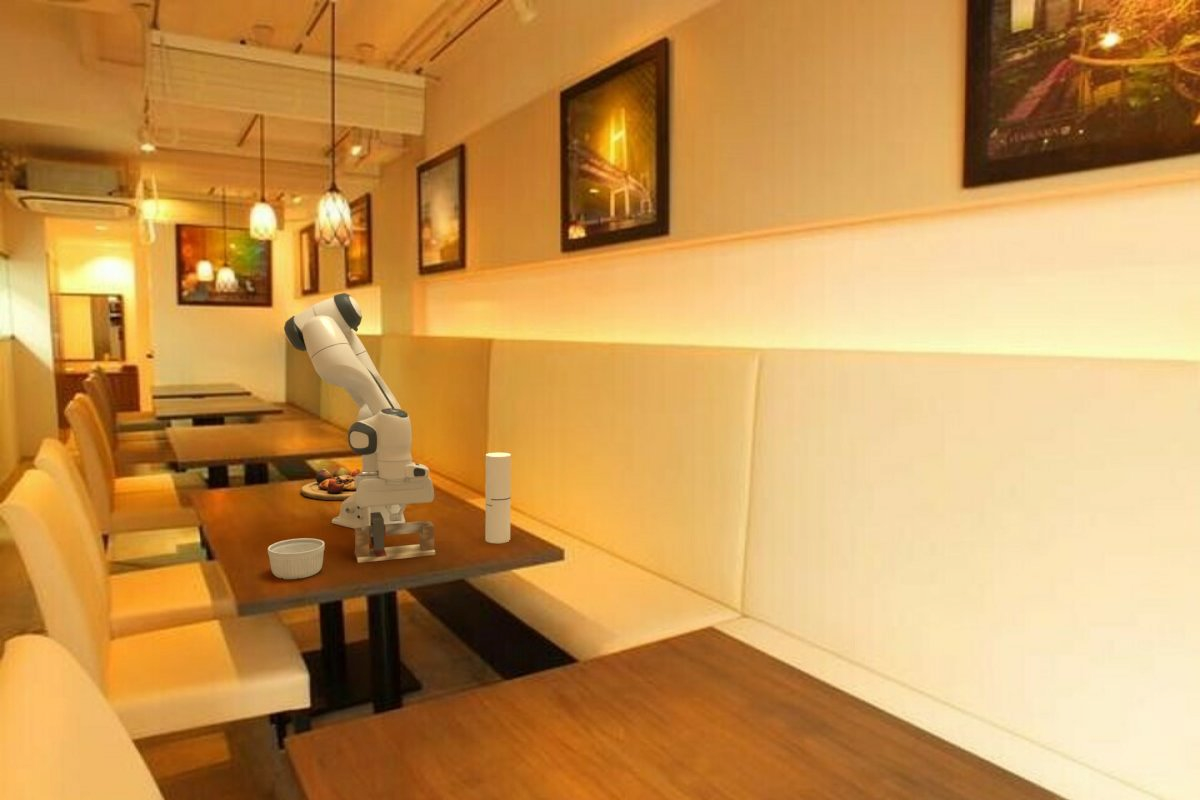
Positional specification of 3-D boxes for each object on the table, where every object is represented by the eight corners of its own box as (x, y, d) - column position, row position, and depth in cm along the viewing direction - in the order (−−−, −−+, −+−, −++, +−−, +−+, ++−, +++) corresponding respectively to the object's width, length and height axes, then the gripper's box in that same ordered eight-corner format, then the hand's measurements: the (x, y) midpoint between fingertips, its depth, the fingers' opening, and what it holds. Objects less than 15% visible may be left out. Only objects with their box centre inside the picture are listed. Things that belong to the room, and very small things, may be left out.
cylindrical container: (505, 544, 217) (506, 457, 214) (481, 542, 218) (482, 456, 216) (513, 537, 224) (514, 453, 221) (490, 535, 225) (490, 451, 223)
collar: (374, 550, 199) (373, 520, 199) (370, 541, 207) (370, 512, 206) (384, 549, 200) (383, 519, 200) (380, 540, 208) (379, 512, 207)
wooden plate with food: (360, 505, 260) (360, 481, 259) (281, 496, 268) (281, 473, 268) (409, 488, 290) (409, 466, 289) (336, 481, 299) (337, 460, 298)
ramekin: (256, 576, 186) (255, 549, 186) (295, 561, 199) (294, 535, 198) (299, 584, 182) (298, 556, 181) (336, 568, 194) (336, 541, 193)
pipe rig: (357, 562, 198) (357, 531, 197) (354, 554, 205) (354, 523, 205) (435, 554, 206) (435, 524, 205) (429, 546, 213) (429, 517, 212)
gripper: (355, 474, 197) (356, 526, 198) (435, 469, 204) (435, 520, 206) (353, 469, 202) (354, 520, 204) (430, 465, 210) (431, 514, 212)
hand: (395, 520), depth 205 cm, fingers closed
